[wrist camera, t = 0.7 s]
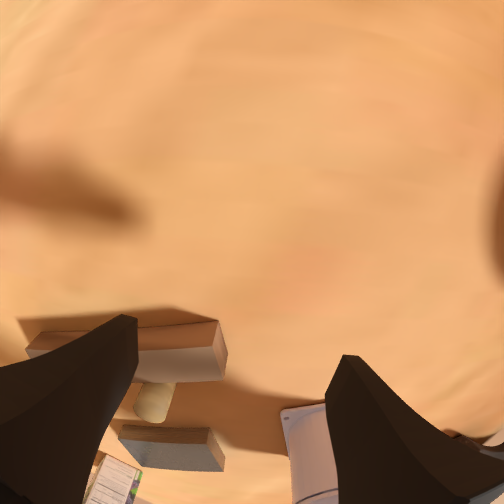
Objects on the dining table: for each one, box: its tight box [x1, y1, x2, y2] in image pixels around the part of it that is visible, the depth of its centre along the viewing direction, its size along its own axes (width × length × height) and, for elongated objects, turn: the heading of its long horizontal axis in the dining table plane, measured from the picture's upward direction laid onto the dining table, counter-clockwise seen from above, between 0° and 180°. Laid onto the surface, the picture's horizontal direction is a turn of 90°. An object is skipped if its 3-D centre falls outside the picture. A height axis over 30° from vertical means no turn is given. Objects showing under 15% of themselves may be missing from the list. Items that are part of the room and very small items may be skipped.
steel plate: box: [118, 425, 225, 472], centre depth 25 cm, size 6×10×2 cm, turn 101°
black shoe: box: [455, 435, 504, 460], centre depth 25 cm, size 11×10×28 cm
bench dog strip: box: [25, 321, 228, 423], centre depth 20 cm, size 5×18×5 cm, turn 100°
